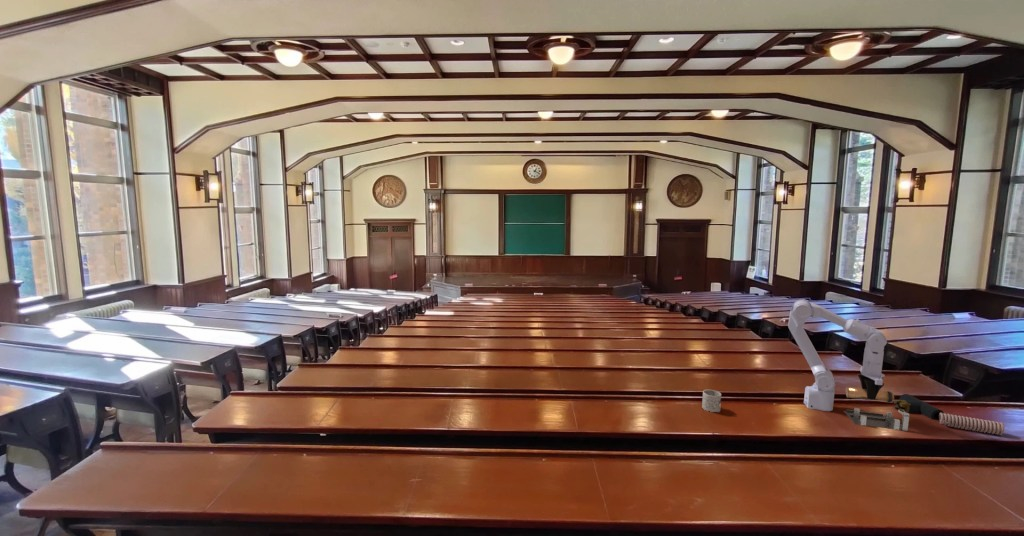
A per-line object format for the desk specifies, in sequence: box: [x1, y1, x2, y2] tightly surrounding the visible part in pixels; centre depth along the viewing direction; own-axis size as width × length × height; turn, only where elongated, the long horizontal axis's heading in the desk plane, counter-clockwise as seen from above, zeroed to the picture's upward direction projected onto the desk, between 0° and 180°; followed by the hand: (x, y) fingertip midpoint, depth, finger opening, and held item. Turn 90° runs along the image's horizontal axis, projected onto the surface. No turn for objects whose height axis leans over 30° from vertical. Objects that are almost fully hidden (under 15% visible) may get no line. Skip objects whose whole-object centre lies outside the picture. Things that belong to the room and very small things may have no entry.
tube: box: [845, 386, 895, 404], centre depth 176 cm, size 14×4×4 cm, turn 72°
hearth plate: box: [843, 408, 909, 432], centre depth 174 cm, size 16×12×2 cm
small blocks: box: [853, 407, 901, 431], centre depth 171 cm, size 12×7×4 cm, turn 72°
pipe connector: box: [892, 393, 945, 421], centre depth 182 cm, size 12×5×15 cm
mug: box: [701, 389, 722, 413], centre depth 186 cm, size 10×7×7 cm, turn 179°
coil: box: [938, 412, 1005, 436], centre depth 169 cm, size 5×5×18 cm
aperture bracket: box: [897, 409, 910, 432], centre depth 167 cm, size 2×4×6 cm, turn 162°
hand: (868, 396), depth 177 cm, fingers closed on tube, 4 cm apart
